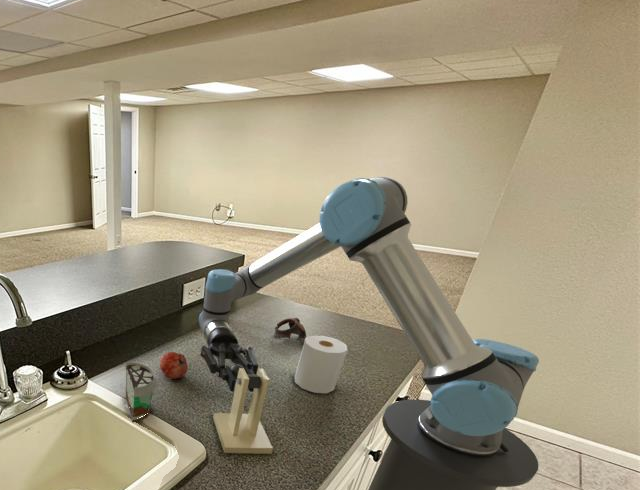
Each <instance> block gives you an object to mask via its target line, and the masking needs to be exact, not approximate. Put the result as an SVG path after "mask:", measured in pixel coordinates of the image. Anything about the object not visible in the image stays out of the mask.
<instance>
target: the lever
mask: <svg viewBox="0 0 640 490" xmlns="http://www.w3.org/2000/svg"><path fill="white" fill-rule="evenodd" d="M229 367H230V369H231V371H232V373H233V376H234V378H235V380H236V381H237V377H238V372H239V368H244V367H243V366H242V365H239V364H235V363H234V364H233V365H231V366H229ZM244 370H245V369H244ZM247 375H248V377H249V384H248V388H260V376H258V375H257V374H247ZM248 388H247V389H248Z"/></svg>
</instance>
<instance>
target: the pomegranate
mask: <svg viewBox="0 0 640 490" xmlns="http://www.w3.org/2000/svg"><path fill="white" fill-rule="evenodd" d="M159 367H160V370H161V372H162V373H163V376H164V377H166V378H167V379H171V380H175V379H178V378H183V377H184V376H185V375H186V374H187V373H188V368H189V366H188V363H187V358H186V357H185V355H184V354H183V353H178V352H176V351H169V352H166V353H164V355H162V357H161V359H160V364H159Z"/></svg>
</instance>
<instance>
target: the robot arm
mask: <svg viewBox="0 0 640 490" xmlns="http://www.w3.org/2000/svg"><path fill="white" fill-rule="evenodd" d="M407 208H408V194H407V192H406V189H405V188H404V186H403V185H402V184H401V183H400V182H399V181H397V180H395V179H394V178H390V177H387V176H386V177H385V176H378V177H377V176H376V177H371V178H367V177H360V178H359V177H358V178H354V179H351V180H349V181H347V182H344V183H342V184H340V185H338V186H337V187H336V188H334V189H333V190H332V191H331V192H330V193H329V194H328V196H326V198H325V199H324V201H323V203H322V206H321V209H320V213H319V223H317V224H315V225H314V226H312V227H310V228H309V229H308V230H305V231H304V232H302V233H301V234H299V235H297V236H296V237H294V238H292V239H291V240H289V241H288V242H285V243H284V244H282V245H281V246H279V247H277V248H276V249H274V250H273V251H271V252H269V253H268V254H265V255H264V256H263V257H261V258H259V259H258V260H256V261H255V262H253V263H251V264H250V265H248V266H246V267H244V268H242V269H241V270H239V271H236V272H233V271H232V270H229V269H223V268H221V269H220V268H219V269H213V270H210V271H209V272H208V274H207V279H206V283H205V289H204V298H203V306H202V310H201V312H200V314H199V316H198V325H199V328H200V330H201V332H202V334H203V337H204V339H205V342H206V344H207V346H206V345H201V347H200V357H202V358H203V359H204V361H205V364H206V365H207V367H208V369H209V372H210V373H211V374H217V373H218V376H217V377H218V378H219V379H221V380H222V381H225V382H226V385H227V386H228V389H229V391H230V392H235V387H236V382H237V380H235V378H234V376H233V373H232V371H231V369H230V367H231V366H229V365H227V364H226V360H230V362H232V363H233V364H234V365H235V364H239V365H242V366H243V367H244V369H245V372H246V374H256V375H257V372H258V369H259V363H258V361H257V359H256V357H255V355H254V353H253V350H254V348H253V347H252V346H249V347H247V348H243V346H242V345H241V344H240V343H239V341H238V338H237V336H236V334H235V333H234V331H233V329H232V327H231V326H230V324H229V317H230V313H231V307H232V302H234V301H237V300H240V299H243V298H245V297H247V296H252V295H254V294H256V293H258V292H259V291H260V290H261V289H263V288H265V287H267V286H269V285H271V284H273V283H274V282H276V281H278V280H280V279H282V278H284V277H285V276H287V275H289V274H292V273H294V272H295V271H297V270H299V269H301V268H303V267H304V266H307V265H309V264H310V263H312V262H314V261H316V260H318V259H320V258H322V257H323V256H326V255H327V254H329V253H331V252H333V251H335V250H337V249H339V248H342V250H343V252H344V254H346V257H347V258H348V260H349V261H351V262H357V263H359V264H362V266H363V267H364V269H365V271H366V273H367V274H368V276H369V277H370V279H371V281H372V282H373V284H374V286H375V287H376V289H377V290H378V292H379V294H380V295H381V297H382V298H383V301H384V302H385V303H386V305H387V307H388V308H389V310H390V311H391V313H392V316H394V318H395V320H396V322H397V323H398V324H399V326H400V328H401V329H402V331H403V333H404V334H405V336H406V338H407V340H408V342H410V344H411V345H412V347H413V349H414V350H415V352H416V354H417V355H418V357H419V359H420V361H421V362H422V364H423V369H422V371H421V374H420V377H421V380H422V381H423V383H424V384H425V386H426V387H427V390H428V391H429V392H430V394H431V398H430V400H429V401H430V403H431V405H430V406H429V407H428V408H427V409H426V410H425V411H423V413H422V414H421V415H420V417H419V419H418V421H417V426H418V428H419V430H420V431H421V432H422V433H423V434H424V435H425V436H426V437H427V438H428V439H430V440H431V441H433V442H434V443H436V444H438V445H440V446H441V447H444V448H446V449H448V450H450V451H453V452H456V453H459V454H462V455H466V456H472V457H490V456H493V455H495V454H496V453H497V451H498V449H499V448H501V449H502V450H503V451H504V452H508V451H509V450H508V449H507V448H506V447H505V446H504V445H503V444H502V443H501V441H502V431H503V429H504V428H506V429H507V427H508V426H510V424H511V423H512V422H513V420H514V419H515V418H516V417H517V415H518V411H519V405H520V404H521V403H520V402H521V399H522V396H523V393H524V390H525V387H526V385H527V384H528V382H529V380H530V379H531V377H532V375H533V374H534V373H535V372H536V371H537V367H538V365H539V363H540V360H539V357H538V356H537V355H536V354H535V353H533V352H531V351H529V350H527V349H523V348H521V347H518V346H515V345H512V344H508V343H505V342H500V341H498V340H497V341H496V340H491V339H486V338H485V339H484V338H473V339H472V337H471V335H470V334H469V332H468V331H467V329H466V327H465V325H464V324H463V323H462V321H461V319H460V318H459V316H458V314H457V313H456V311H455V310H454V307H452V305H451V303H450V301H448V299H447V297H446V295H445V293H444V292H443V291H442V289H441V288H440V286H439V284H438V283H437V281H436V279H435V277H433V275H432V273H431V272H430V270H429V268H428V267H427V266H426V264H425V262H424V260H423V259H422V257H421V255H420V254H419V253H418V251H417V250H416V248H415V246H414V245H413V243H412V241H411V240H410V239H409V233H410V230H411V227H412V223H411V221H410V220H409V218H408V217H407V214H406V211H407ZM215 357H216V358H217V360H216V358H215ZM247 390H248V391H249V392H250V393H253V390H254V388H247Z"/></svg>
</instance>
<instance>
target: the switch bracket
mask: <svg viewBox="0 0 640 490" xmlns="http://www.w3.org/2000/svg"><path fill="white" fill-rule="evenodd" d="M256 375H258V376H260V388H254V390H253V392H252V396H251V400H250V403H249V404H250V405H249V409H248V412H247V413H243V411H244V407H245V402H246V397H247V392H248V384H249V377H248V375H247V374H246V372H245V370H244V368H239V372H238V377H237V380H236V383H235V388H234V391H233V392H234V393H233V397H232V403H231V408H230V413H229V412H228V413H227V412H213V416H212V419H213V422H214V426H215V428H216V431H217V435H218V438H219V441H220V444H221V448H222V451H223V454H258V455H259V454H260V455H262V454H265V455H267V454H268V455H272V454H273V450H274V447H273V445H272V443H271V441H270V439H269V437H268V435H267V432H266V430H265V428H264V426H263V424H262V421H261V418H262V413H263V408H264V404H265V400H266V397H267V393H268V388H269V384H270V378H269V376H268V374H267V373H266V371H265V370H264V368H258V370H257V374H256Z"/></svg>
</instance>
